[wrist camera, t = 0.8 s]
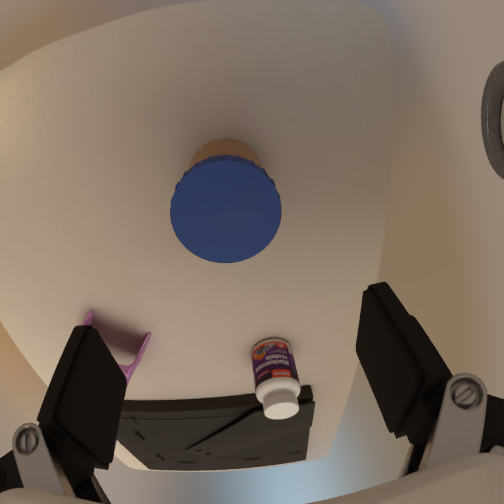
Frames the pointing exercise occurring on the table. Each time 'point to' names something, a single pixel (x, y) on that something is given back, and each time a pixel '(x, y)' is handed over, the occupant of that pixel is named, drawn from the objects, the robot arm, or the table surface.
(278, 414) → the pill bottle
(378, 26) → the table surface
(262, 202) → the jar lid
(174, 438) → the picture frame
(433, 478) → the robot arm
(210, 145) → the jar
